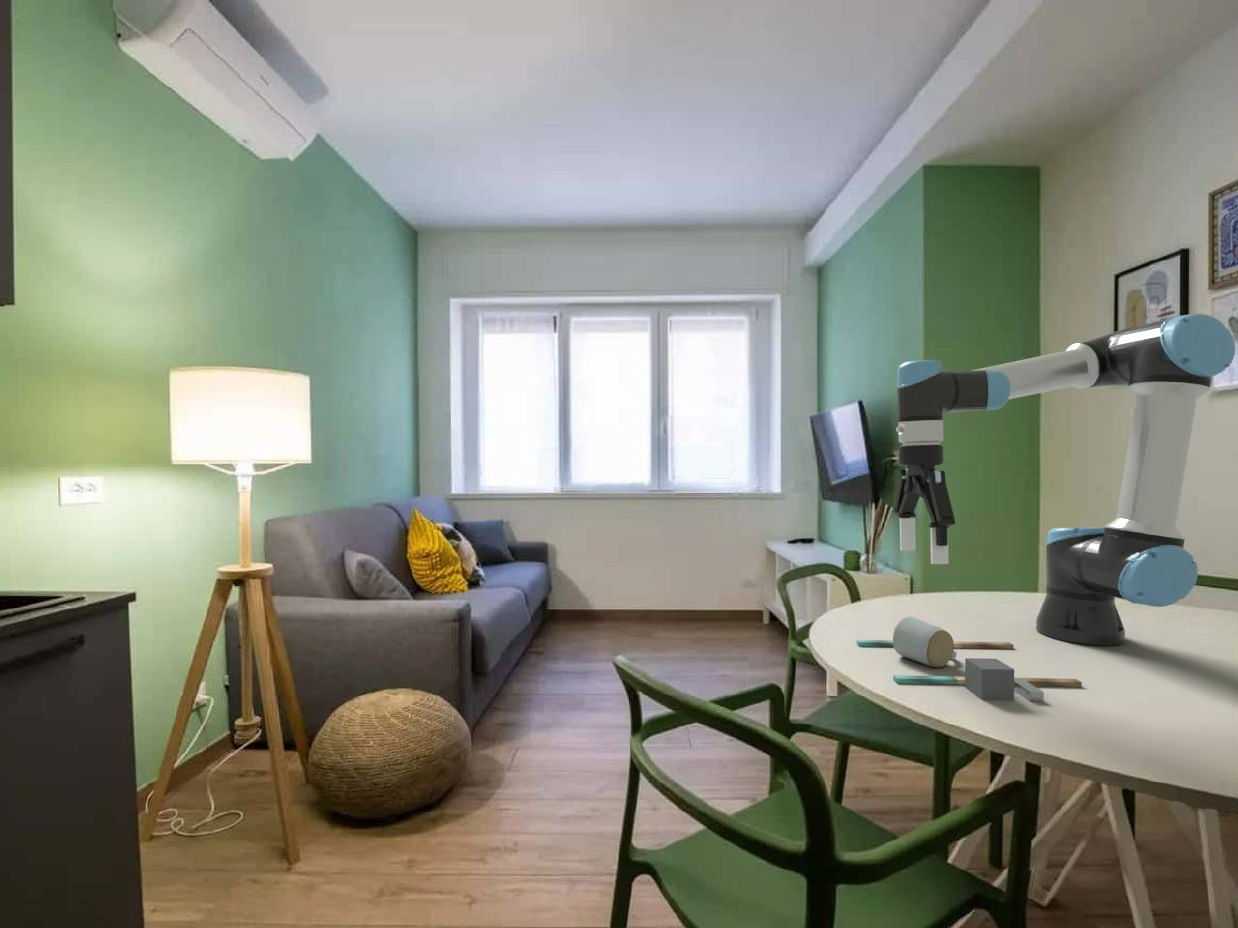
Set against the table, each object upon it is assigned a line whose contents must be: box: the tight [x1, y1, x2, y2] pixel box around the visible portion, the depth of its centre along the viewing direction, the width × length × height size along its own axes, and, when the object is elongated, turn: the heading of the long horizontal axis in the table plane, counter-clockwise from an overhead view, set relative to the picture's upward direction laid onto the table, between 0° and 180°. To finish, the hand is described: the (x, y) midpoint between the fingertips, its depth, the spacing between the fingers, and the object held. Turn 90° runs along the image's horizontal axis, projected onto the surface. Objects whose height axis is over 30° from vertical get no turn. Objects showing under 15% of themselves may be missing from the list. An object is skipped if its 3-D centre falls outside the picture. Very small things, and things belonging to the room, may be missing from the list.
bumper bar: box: [1014, 677, 1045, 703], centre depth 99 cm, size 2×6×2 cm, turn 176°
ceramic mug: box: [892, 616, 958, 668], centre depth 114 cm, size 11×8×8 cm
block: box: [964, 657, 1015, 701], centre depth 99 cm, size 5×5×5 cm
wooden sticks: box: [856, 639, 1083, 688], centre depth 113 cm, size 30×21×1 cm
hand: (922, 557), depth 115 cm, fingers open, 13 cm apart
